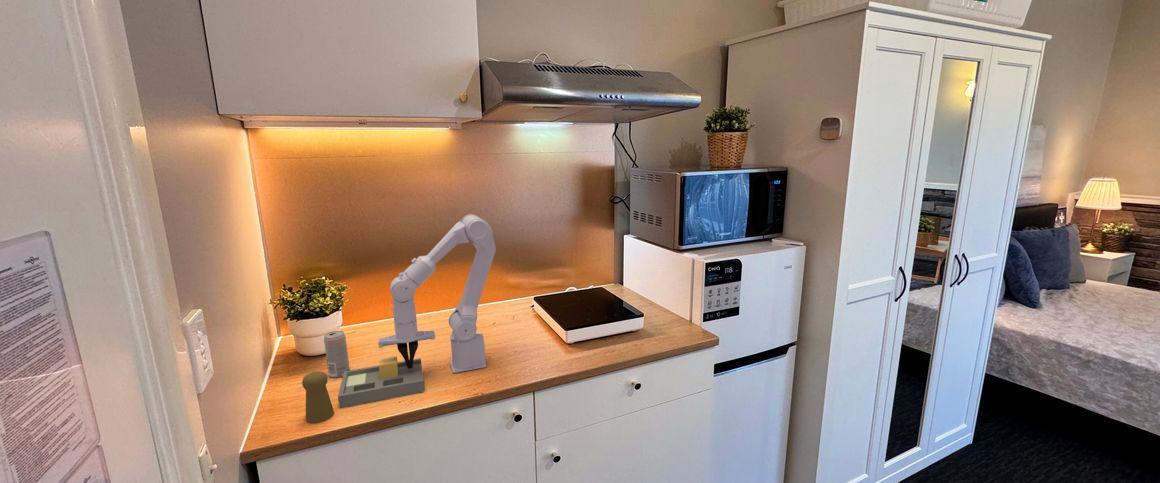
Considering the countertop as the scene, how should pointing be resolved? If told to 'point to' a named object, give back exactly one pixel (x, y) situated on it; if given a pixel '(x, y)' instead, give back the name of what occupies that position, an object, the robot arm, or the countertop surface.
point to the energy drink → (336, 353)
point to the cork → (317, 398)
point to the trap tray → (379, 384)
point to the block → (388, 367)
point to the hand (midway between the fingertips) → (410, 366)
